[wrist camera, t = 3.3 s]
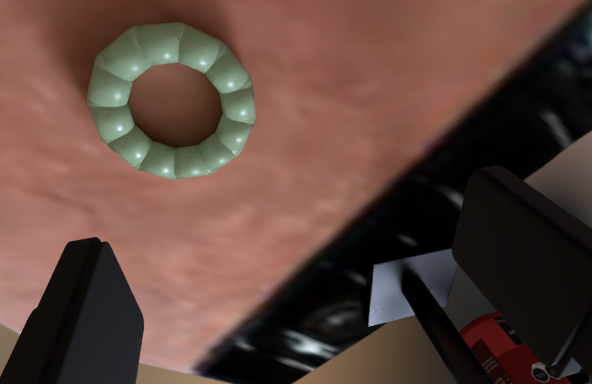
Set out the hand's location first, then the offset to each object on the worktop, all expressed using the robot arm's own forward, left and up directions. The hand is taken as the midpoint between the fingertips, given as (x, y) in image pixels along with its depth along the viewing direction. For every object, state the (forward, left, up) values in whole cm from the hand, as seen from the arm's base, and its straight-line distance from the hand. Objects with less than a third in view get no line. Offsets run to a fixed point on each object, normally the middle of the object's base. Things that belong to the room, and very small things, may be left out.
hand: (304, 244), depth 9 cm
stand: (+14, -22, -16) cm, 30 cm away
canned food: (+26, -35, -16) cm, 46 cm away
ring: (-4, -1, -15) cm, 15 cm away
